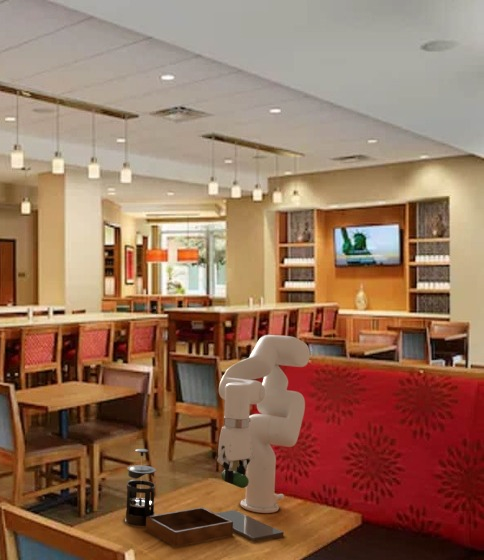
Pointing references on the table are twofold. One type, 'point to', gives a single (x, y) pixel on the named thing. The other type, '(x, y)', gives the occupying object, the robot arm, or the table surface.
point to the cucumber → (238, 479)
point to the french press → (140, 506)
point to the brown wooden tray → (189, 526)
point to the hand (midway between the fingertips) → (234, 480)
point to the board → (250, 527)
